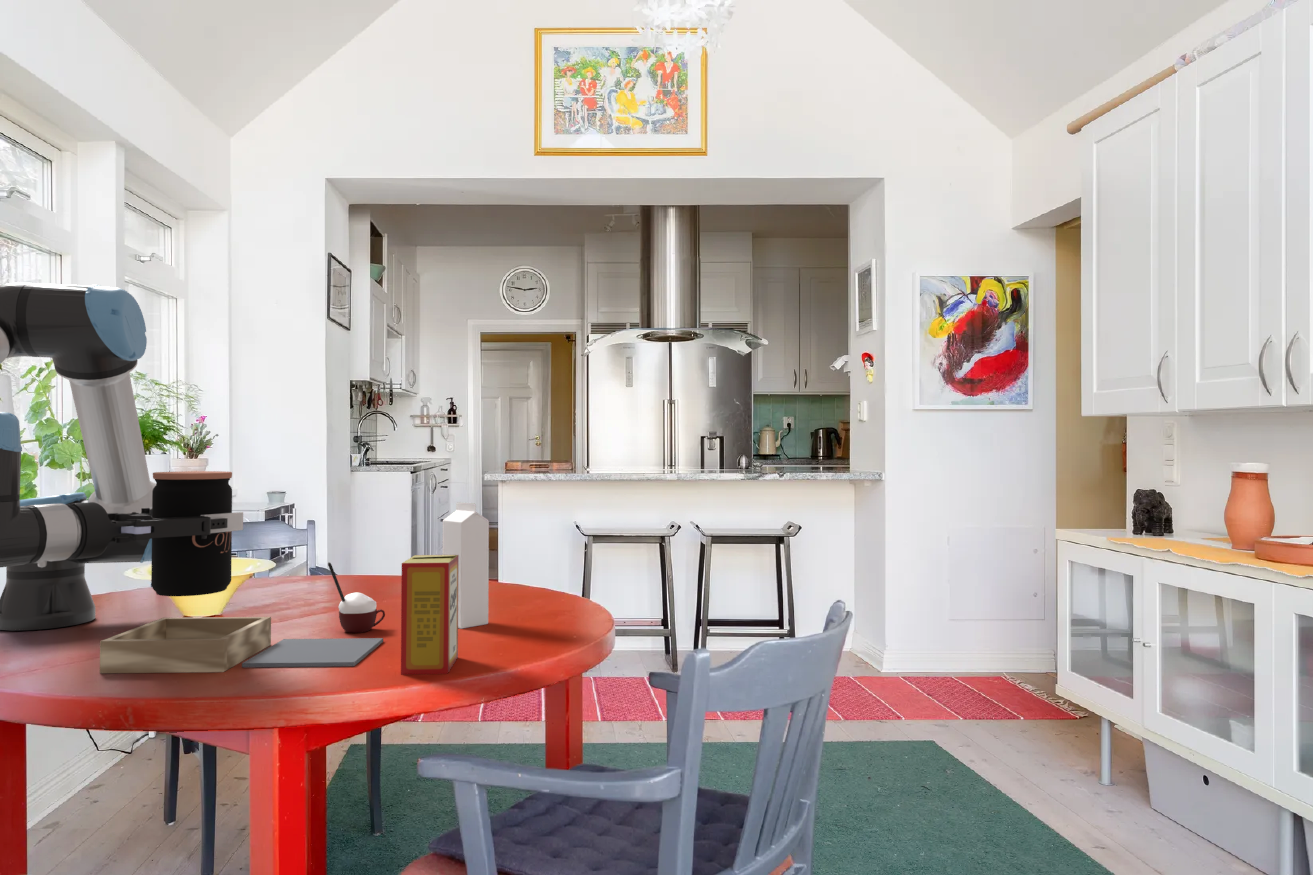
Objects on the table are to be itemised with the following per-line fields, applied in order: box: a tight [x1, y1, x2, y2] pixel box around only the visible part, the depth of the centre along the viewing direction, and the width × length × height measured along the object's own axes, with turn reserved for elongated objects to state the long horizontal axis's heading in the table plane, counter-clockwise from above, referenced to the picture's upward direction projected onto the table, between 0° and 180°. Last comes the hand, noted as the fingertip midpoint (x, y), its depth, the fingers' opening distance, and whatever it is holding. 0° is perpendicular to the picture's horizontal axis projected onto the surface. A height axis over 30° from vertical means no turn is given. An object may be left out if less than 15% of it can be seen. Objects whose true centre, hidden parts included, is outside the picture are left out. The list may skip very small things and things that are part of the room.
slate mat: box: [241, 637, 384, 668], centre depth 133 cm, size 16×16×1 cm
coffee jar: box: [150, 470, 233, 597], centre depth 130 cm, size 11×11×18 cm
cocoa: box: [327, 561, 386, 634], centre depth 150 cm, size 10×6×12 cm, turn 94°
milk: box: [442, 501, 490, 629], centre depth 156 cm, size 6×6×22 cm
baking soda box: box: [400, 554, 459, 676], centre depth 126 cm, size 10×6×16 cm
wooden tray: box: [99, 616, 272, 674], centre depth 130 cm, size 17×17×4 cm
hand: (217, 519), depth 134 cm, fingers closed on coffee jar, 11 cm apart
